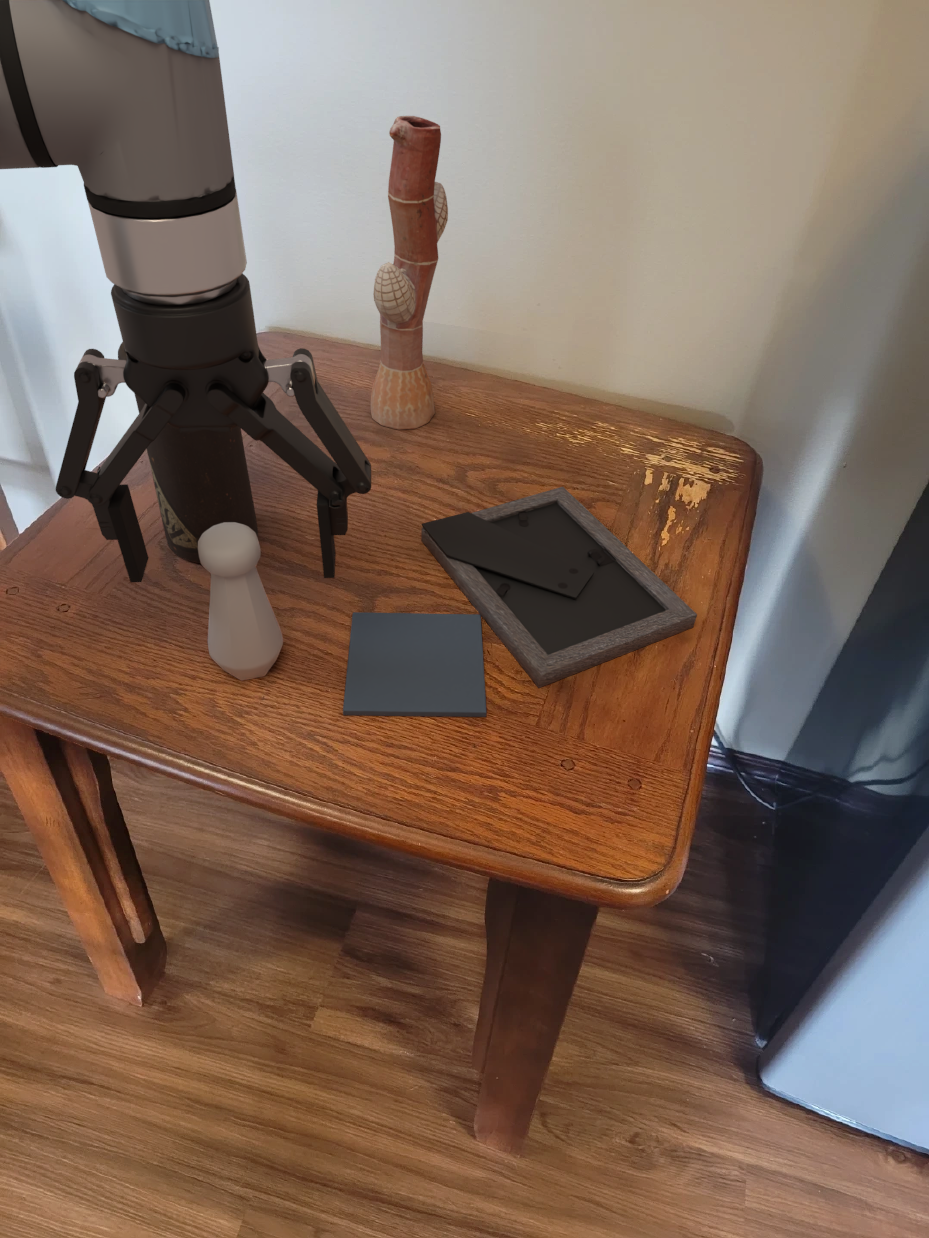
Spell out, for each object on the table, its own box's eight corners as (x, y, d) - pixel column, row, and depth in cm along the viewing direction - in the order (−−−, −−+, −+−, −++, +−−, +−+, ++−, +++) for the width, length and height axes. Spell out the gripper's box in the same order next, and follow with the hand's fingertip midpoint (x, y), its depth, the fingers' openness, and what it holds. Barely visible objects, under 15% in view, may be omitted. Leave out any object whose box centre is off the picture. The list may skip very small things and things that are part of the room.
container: (184, 505, 83) (141, 306, 70) (274, 516, 83) (248, 317, 69) (148, 560, 77) (93, 353, 63) (245, 572, 76) (210, 367, 63)
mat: (343, 715, 65) (342, 710, 65) (352, 616, 73) (352, 611, 73) (486, 717, 66) (486, 712, 65) (480, 619, 74) (480, 614, 73)
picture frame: (421, 540, 81) (538, 688, 68) (421, 523, 80) (541, 671, 67) (560, 499, 87) (693, 627, 74) (563, 482, 86) (698, 610, 73)
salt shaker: (250, 699, 66) (226, 572, 57) (197, 668, 68) (165, 540, 59) (300, 655, 69) (285, 529, 60) (248, 626, 72) (226, 500, 63)
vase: (391, 438, 94) (388, 136, 73) (353, 411, 98) (339, 116, 77) (463, 410, 99) (480, 120, 78) (424, 385, 103) (430, 102, 82)
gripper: (402, 253, 51) (405, 533, 66) (-33, 249, 49) (71, 539, 64) (406, 307, 46) (408, 598, 60) (-83, 305, 43) (43, 607, 58)
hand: (235, 568), depth 62 cm, fingers open, 13 cm apart
